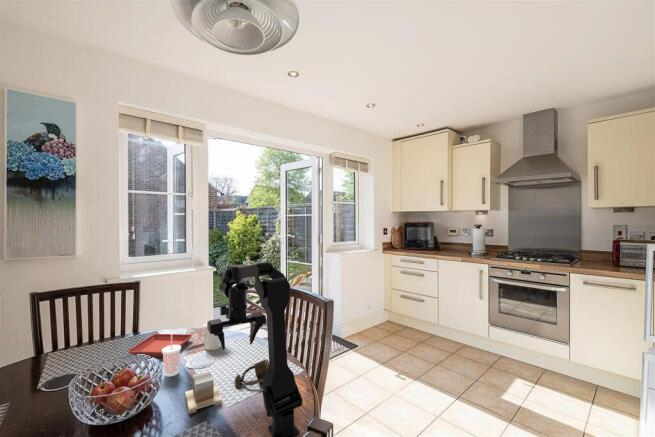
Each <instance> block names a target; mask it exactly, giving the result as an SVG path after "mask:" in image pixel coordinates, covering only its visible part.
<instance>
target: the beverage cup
mask: <svg viewBox="0 0 655 437" xmlns="http://www.w3.org/2000/svg"><path fill="white" fill-rule="evenodd" d="M170 334H171V345H170V346H167V347H165V348H163V349H162V353H163V357H162V358H163V359H162V360H163V372H164V376H165V377H174V376H176V375H178V374H179V372H180V361H181V360H180V358H181V350H182V347H181V346H180V345H172V334H173V333H170Z"/></svg>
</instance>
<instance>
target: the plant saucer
mask: <svg viewBox="0 0 655 437" xmlns="http://www.w3.org/2000/svg"><path fill="white" fill-rule="evenodd" d="M171 334H172V345H180V346H181V348H182V347H184V346H185V345H186V344H188V342H189V341H190V339H191V338H192V336H193V334H183V333H178V334H177V333H175V334H174V333H154V334H152V335H150V336H149V337H147V338H145V339H144V340H142V341H141V342H139V343H138V344H136V345H133V347H131V348H130V349H128V350H127V353H129V354H130V355H131V356H133V355H137V354H145V355H149V356H154V357H153V358H163V353H162V349H163V348H165V347H167V346H170V345H171Z"/></svg>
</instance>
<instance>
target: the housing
mask: <svg viewBox="0 0 655 437" xmlns="http://www.w3.org/2000/svg"><path fill="white" fill-rule="evenodd" d="M214 381H215V380H214V378H213V375H212V373H211V371H210V370H209V371H205V372H200V373H196V374H193V375H192V390H193V395H194V399H195V402H196V403H199V402H202V401H206V400H209V399H212V398H214V384H215V382H214Z"/></svg>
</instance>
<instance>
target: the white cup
mask: <svg viewBox="0 0 655 437" xmlns="http://www.w3.org/2000/svg"><path fill="white" fill-rule="evenodd" d="M207 323H208V321H207V322H205V323H203V325H202V326H203V327H202V328H203V342H204V349H205V350H208V351H215V350H218V349H220V348H222V346H221V343H220V340H219V338H218V336H214V334H210V333H209V331H208V329H207Z"/></svg>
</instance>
